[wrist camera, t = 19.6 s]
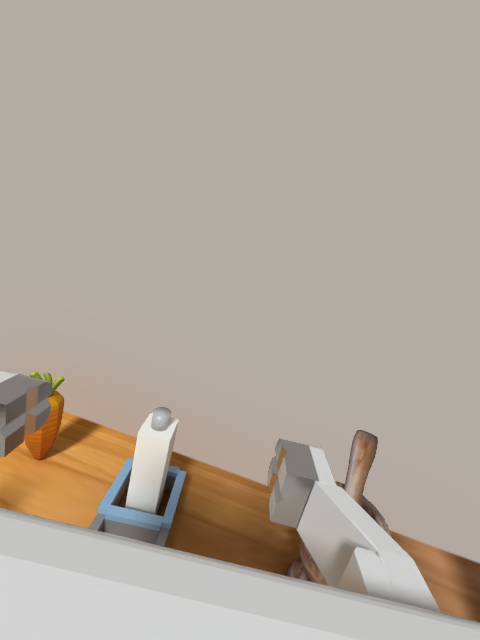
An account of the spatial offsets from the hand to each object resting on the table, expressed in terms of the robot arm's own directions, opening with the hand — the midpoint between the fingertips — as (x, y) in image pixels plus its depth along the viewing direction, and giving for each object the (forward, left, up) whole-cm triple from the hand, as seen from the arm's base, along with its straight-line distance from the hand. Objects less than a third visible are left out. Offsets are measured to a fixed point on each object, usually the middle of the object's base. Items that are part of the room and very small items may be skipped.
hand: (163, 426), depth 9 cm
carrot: (+23, -26, -31) cm, 46 cm away
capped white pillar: (+5, -22, -31) cm, 38 cm away
